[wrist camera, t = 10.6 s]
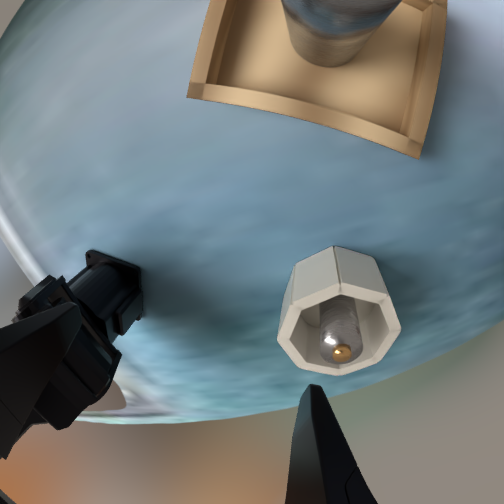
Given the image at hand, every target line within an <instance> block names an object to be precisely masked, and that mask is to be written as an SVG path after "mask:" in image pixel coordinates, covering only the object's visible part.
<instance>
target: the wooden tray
mask: <svg viewBox="0 0 504 504" xmlns="http://www.w3.org/2000/svg"><path fill="white" fill-rule="evenodd" d="M446 17H447V0H402V2H401V3H400V4H399V5H398V6H397V7H396V8H395V10H394V11H393V12H392V13H391V14H390V15H389V16H388V18H387V19H386V20H385V21H384V22H383V23H382V25H381V26H380V27H379V28H378V29H377V31H376V32H375V33H374V34H373V35H372V36H371V38H370V39H369V40H368V41H367V42H366V44H365V45H364V46H363V47H362V48H361V50H360V51H359V52H358V53H357V55H356V56H355V57H354V58H353V59H352V60H351V61H350V62H348V63H346V64H344V65H342V66H338V67H329V68H328V67H320V66H317V65H314V64H311V63H309V62H307V61H306V60H304V59H303V58H302V57H300V56H299V55H298V54H297V52H296V51H295V50H294V48H293V46H292V44H291V41H290V37H289V32H288V28H287V23H286V19H285V15H284V10H283V6H282V2H281V0H210V4H209V7H208V10H207V14H206V17H205V21H204V24H203V28H202V32H201V36H200V40H199V43H198V47H197V52H196V56H195V60H194V64H193V69H192V73H191V78H190V82H189V87H188V92H187V97H186V98H193V99H199V100H206V101H213V102H220V103H226V104H232V105H238V106H244V107H249V108H254V109H259V110H264V111H269V112H273V113H278V114H282V115H286V116H290V117H294V118H298V119H302V120H306V121H309V122H313V123H317V124H320V125H324V126H327V127H330V128H334V129H337V130H340V131H343V132H346V133H349V134H352V135H355V136H358V137H361V138H364V139H367V140H369V141H372V142H375V143H378V144H380V145H383V146H385V147H388V148H391V149H393V150H396V151H398V152H400V153H403V154H405V155H408V156H411V157H413V158H416V159H418V160H419V157H420V154H421V151H422V147H423V144H424V140H425V136H426V133H427V129H428V125H429V121H430V117H431V113H432V108H433V104H434V99H435V95H436V90H437V85H438V79H439V74H440V68H441V62H442V55H443V47H444V39H445V29H446Z"/></svg>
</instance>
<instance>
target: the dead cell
mask: <svg viewBox="0 0 504 504" xmlns="http://www.w3.org/2000/svg"><path fill="white" fill-rule="evenodd" d="M319 320H320V355H321V357H322V358H323V359H324V360H325V361H326V362H328V363H331V364H346V363H350V362H352V361H354V360H355V359H357V358H358V357H359V356H360V355H361V353H362V351H363V342H362V336H361V330H360V325H359V320H358V314H357V309H356V304H355V299H354V297H350V296H346V295H342V294H339V295H337V296H335V297H332V298H330V299H328V300H325V301H323V302H321V303H319Z"/></svg>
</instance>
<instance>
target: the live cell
mask: <svg viewBox="0 0 504 504" xmlns="http://www.w3.org/2000/svg"><path fill="white" fill-rule="evenodd" d="M281 2H282V6H283V10H284V15H285V19H286V23H287V28H288V32H289V37H290V41H291V44H292V46H293V48H294V50H295V51H296V52H297V54H298V55H299V56H300V57H302V58H303V59H304V60H306V61H307V62H309V63H311V64H314V65H317V66H320V67H328V68H329V67H338V66H342V65H344V64H346V63H348V62H350V61H351V60H352V59H353V58H354V57H355V56H356V55H357V53H358V52H359V51H360V50H361V48H362V47H363V46H364V45H365V44H366V42H367V41H368V40H369V39H370V38H371V36H372V35H373V34H374V33H375V32H376V31H377V29H378V28H379V27H380V26H381V25H382V23H383V22H384V21H385V20H386V19H387V18H388V16H389V15H390V14H391V13H392V12H393V11H394V10H395V8H396V7H397V6H398V5H399V4H400V3H401V2H402V0H281Z"/></svg>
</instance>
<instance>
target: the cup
mask: <svg viewBox="0 0 504 504" xmlns="http://www.w3.org/2000/svg"><path fill="white" fill-rule="evenodd" d="M339 294H342V295H346V296H350V297H354V299H355V304H356V309H357V314H358V320H359V325H360V330H361V336H362V342H363V351H362V353H361V355H360V356H359V357H358V358H357V359H355V360H354V361H352V362H350V363H346V364H331V363H328V362H326V361H325V360H324V359H323V358H322V357H321V355H320V320H319V303H321V302H323V301H325V300H328V299H330V298H332V297H335V296H337V295H339ZM400 332H401V326H400V323H399V320H398V317H397V314H396V312H395V309H394V306H393V303H392V301H391V298H390V295H389V293H388V290H387V288H386V285H385V283H384V280H383V278H382V275H381V273H380V271H379V268H378V266H377V264H376V261H375V259H373V257H371V256H368V255H365V254H362V253H358V252H355V251H351V250H348V249H345V248H341V247H338V246H335V247H334V248H333V246H331V247H329V248H327V249H325V250H323V251H321V252H319V253H316V254H314V255H312V256H310V257H308V258H306V259H304V260H302V261H300V262H297V263H296V265H294V267H293V270H292V273H291V276H290V279H289V282H288V285H287V288H286V291H285V294H284V297H283V303H282V310H281V316H280V323H279V329H278V335H277V341H278V343H279V344H280V345H281V346H282V348H283V349H284V350H285V352H286V353H287V354H288V355H289V357H290V358H291V359H292V361H293V362H294V363H295V364H296V366H297V367H300V369H305V370H310V371H314V372H319V373H324V374H330V375H335V376H338V375H340V376H341V375H345V374H348V373H351V372H353V371H356V370H359V369H362V368H365V367H367V366H370V365H373V364H376V363H378V361H381V359H382V358H383V357H384V355H385V354H386V352H387V351H388V349H389V348H390V347H391V345H392V344H393V342H394V341H395V339H396V338H397V336H398V335H399V333H400Z"/></svg>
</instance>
